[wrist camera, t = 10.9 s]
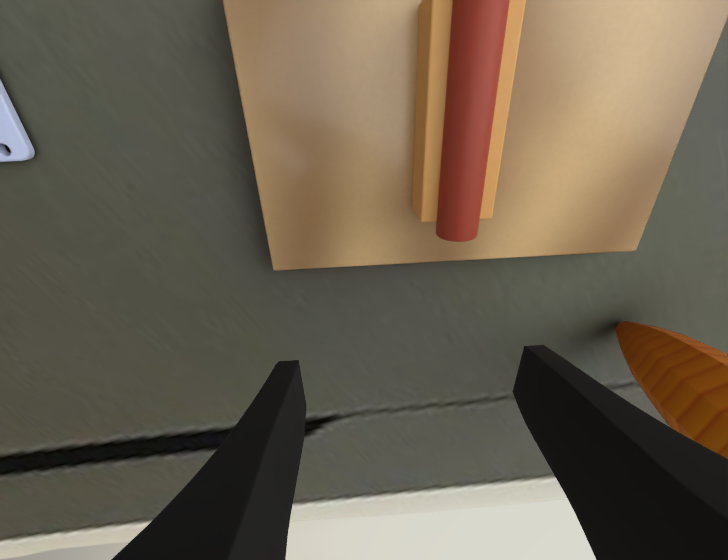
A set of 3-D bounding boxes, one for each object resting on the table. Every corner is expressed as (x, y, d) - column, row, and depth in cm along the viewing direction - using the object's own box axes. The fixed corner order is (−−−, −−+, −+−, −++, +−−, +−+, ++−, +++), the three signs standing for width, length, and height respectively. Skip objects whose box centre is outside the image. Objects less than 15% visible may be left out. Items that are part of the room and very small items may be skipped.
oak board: (276, 261, 19) (272, 271, 18) (227, -15, 13) (217, -25, 12) (620, 243, 19) (636, 251, 18) (719, -30, 14) (751, -41, 12)
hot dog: (411, 220, 17) (424, 244, 14) (419, -18, 12) (441, -53, 9) (473, 216, 17) (499, 240, 14) (504, -21, 12) (551, -56, 10)
